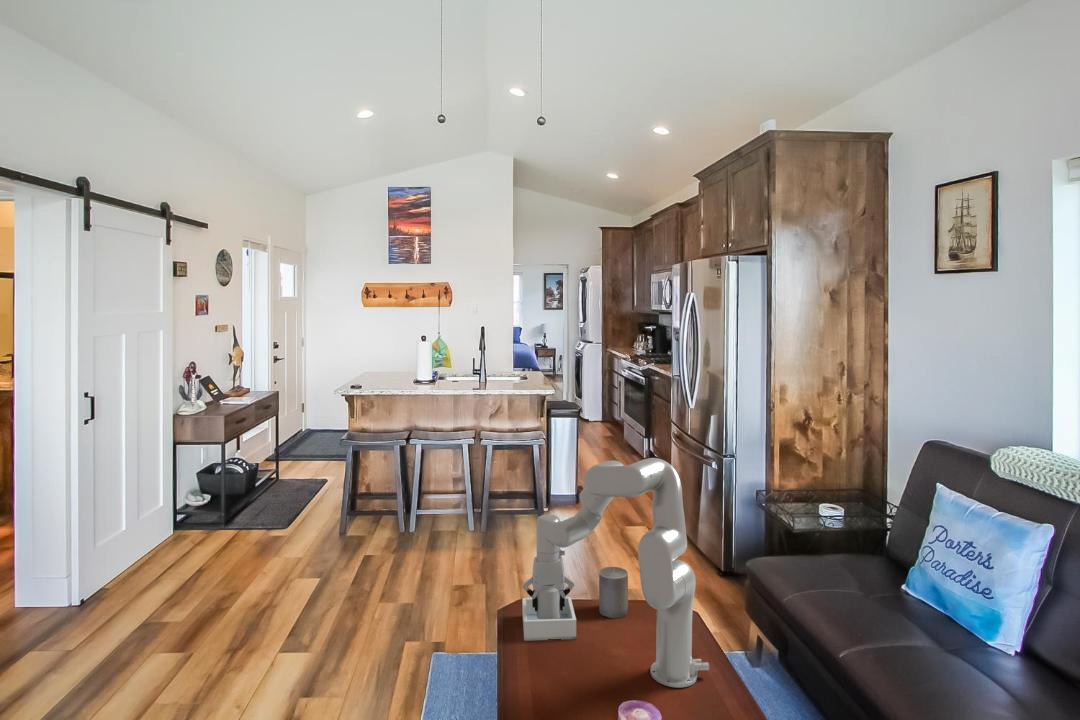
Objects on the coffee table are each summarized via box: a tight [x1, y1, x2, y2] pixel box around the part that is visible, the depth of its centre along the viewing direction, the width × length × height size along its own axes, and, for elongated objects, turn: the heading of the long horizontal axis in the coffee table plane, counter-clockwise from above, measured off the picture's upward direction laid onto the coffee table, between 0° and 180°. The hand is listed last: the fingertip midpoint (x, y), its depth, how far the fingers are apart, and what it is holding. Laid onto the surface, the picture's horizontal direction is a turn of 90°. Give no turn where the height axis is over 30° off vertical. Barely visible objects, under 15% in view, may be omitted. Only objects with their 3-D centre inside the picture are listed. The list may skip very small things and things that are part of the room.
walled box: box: [521, 596, 577, 642], centre depth 197 cm, size 16×16×6 cm
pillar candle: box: [598, 566, 629, 619], centre depth 207 cm, size 10×10×15 cm
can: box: [537, 586, 560, 620], centre depth 196 cm, size 8×8×12 cm
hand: (548, 608), depth 197 cm, fingers closed on can, 7 cm apart
